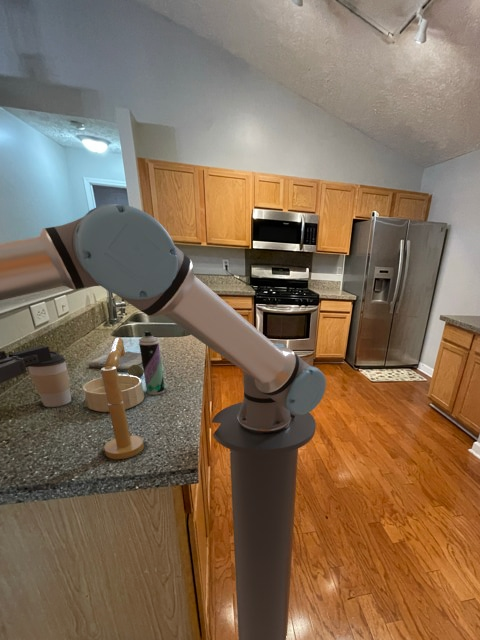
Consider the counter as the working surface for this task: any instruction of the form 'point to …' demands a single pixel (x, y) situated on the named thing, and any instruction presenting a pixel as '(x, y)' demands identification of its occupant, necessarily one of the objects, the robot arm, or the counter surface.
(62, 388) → the coffee cup
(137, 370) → the lime
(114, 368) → the faucet spout
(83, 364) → the counter surface
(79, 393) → the counter surface
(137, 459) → the counter surface
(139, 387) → the cream bowl
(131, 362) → the dish towel
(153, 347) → the spray can
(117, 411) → the base
